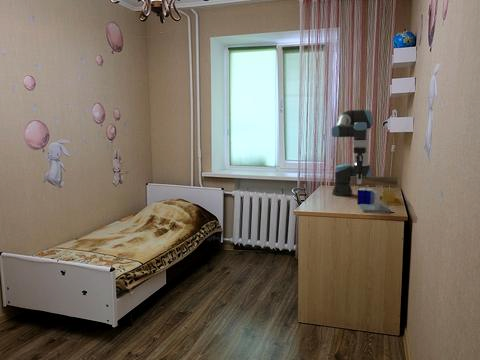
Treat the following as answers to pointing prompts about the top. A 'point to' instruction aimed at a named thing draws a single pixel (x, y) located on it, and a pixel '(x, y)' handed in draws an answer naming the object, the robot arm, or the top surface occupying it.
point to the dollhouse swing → (390, 198)
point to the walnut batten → (375, 181)
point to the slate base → (370, 209)
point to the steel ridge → (375, 199)
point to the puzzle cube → (364, 196)
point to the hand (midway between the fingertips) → (358, 183)
